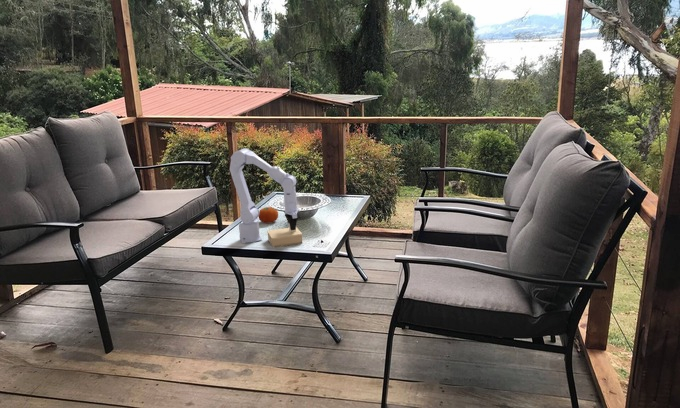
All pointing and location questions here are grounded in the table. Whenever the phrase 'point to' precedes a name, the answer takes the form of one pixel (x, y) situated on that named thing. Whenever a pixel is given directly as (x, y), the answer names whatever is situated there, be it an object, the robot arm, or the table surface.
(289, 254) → the table surface
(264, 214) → the fruit
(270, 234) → the lid
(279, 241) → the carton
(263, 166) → the robot arm
